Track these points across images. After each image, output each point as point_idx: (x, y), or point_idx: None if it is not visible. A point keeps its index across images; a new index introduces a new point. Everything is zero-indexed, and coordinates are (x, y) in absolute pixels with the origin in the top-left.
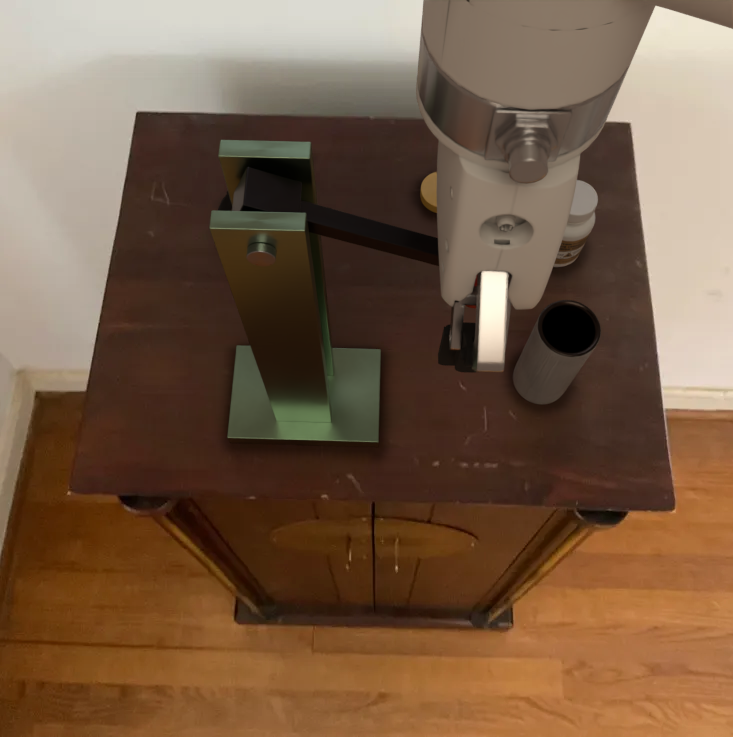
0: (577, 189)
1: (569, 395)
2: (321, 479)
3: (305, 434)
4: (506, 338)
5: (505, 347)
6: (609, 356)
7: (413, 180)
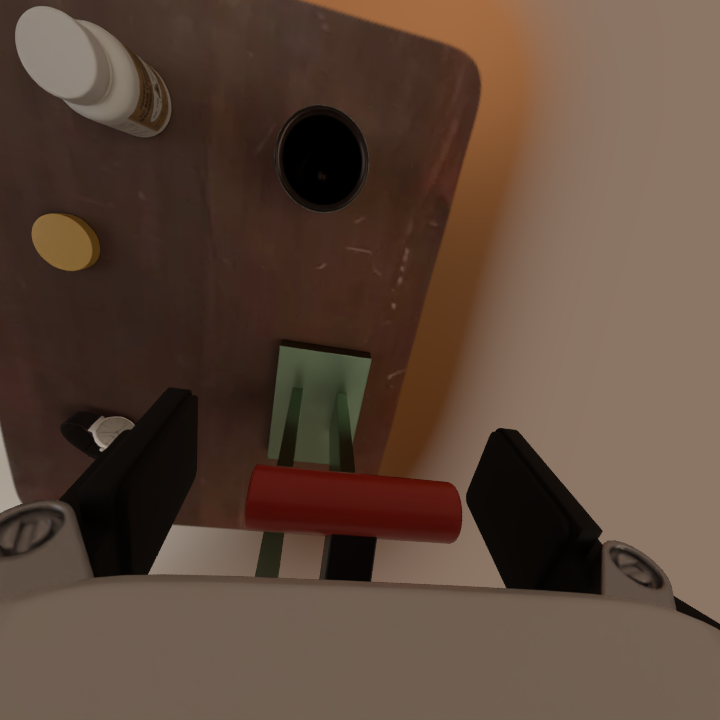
0: (37, 46)
1: None
2: (388, 397)
3: (354, 413)
4: (670, 597)
5: (668, 580)
6: (304, 70)
7: (53, 272)
